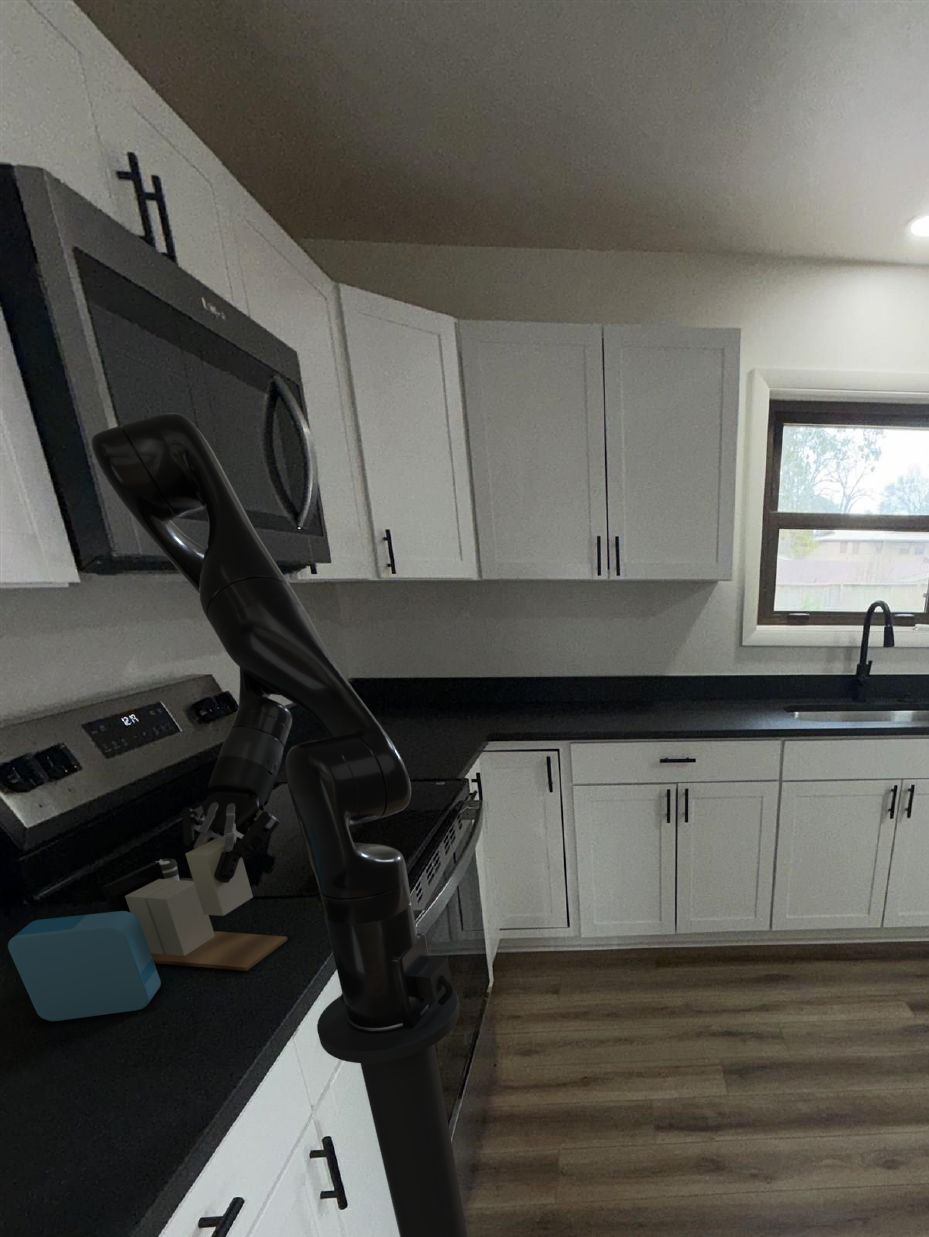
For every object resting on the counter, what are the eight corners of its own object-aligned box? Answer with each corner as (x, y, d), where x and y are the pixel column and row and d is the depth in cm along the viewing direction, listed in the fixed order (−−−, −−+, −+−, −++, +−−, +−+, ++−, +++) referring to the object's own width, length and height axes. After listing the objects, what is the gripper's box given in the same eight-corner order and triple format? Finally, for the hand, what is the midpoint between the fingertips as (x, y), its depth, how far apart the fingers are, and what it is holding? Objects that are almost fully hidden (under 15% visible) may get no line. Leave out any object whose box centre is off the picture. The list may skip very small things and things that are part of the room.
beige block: (253, 897, 102) (237, 838, 98) (223, 916, 97) (205, 854, 93) (234, 895, 102) (217, 837, 99) (203, 914, 97) (184, 853, 93)
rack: (288, 939, 106) (269, 868, 101) (246, 971, 98) (224, 895, 93) (177, 931, 109) (154, 861, 104) (128, 961, 101) (101, 886, 96)
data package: (164, 990, 94) (136, 908, 89) (152, 1009, 90) (121, 924, 85) (58, 1004, 91) (22, 920, 86) (40, 1024, 87) (2, 937, 82)
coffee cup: (173, 905, 117) (164, 877, 115) (113, 899, 119) (103, 871, 117) (228, 876, 128) (220, 850, 126) (171, 871, 130) (163, 846, 128)
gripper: (184, 751, 99) (140, 866, 93) (276, 755, 97) (237, 872, 91) (221, 778, 106) (182, 886, 100) (308, 782, 104) (273, 892, 98)
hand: (209, 879), depth 96 cm, fingers closed on beige block, 3 cm apart
